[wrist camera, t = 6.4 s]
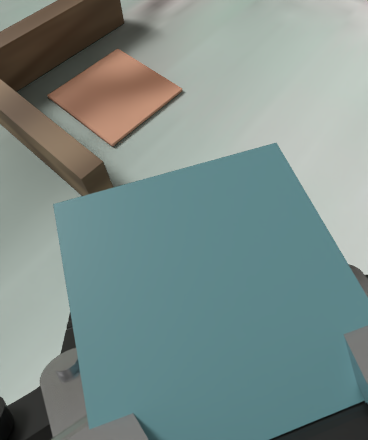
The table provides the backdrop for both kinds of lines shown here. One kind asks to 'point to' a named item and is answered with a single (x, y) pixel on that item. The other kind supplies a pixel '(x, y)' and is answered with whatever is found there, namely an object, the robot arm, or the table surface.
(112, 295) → the teal block
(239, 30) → the table surface
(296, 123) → the table surface
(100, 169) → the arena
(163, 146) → the table surface
